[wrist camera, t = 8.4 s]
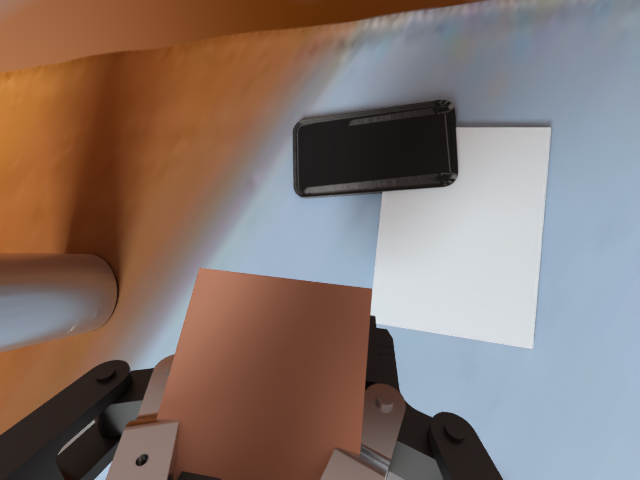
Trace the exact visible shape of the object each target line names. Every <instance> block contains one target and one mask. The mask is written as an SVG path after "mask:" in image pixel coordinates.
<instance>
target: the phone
mask: <svg viewBox="0 0 640 480" xmlns="http://www.w3.org/2000/svg"><path fill="white" fill-rule="evenodd" d="M457 177H458V157H457V138H456V119H455V109H454V106H453V105H452V103H450V102H449V101H446V100H437V101H430V102H423V103H416V104H409V105H402V106H395V107H388V108H381V109H374V110H368V111H361V112H354V113H347V114H340V115H333V116H326V117H319V118H312V119H305V120H301V121H299V122H298V123H297V124H296V125H295V126H294V129H293V178H294V190H295V192H296V194H297V195H299V196H300V197H302V198H306V199H309V198H322V197H336V196H349V195H363V194H376V193H382V192H386V191H399V190H412V189H425V188H439V187H447V186H450V185H451V184H453V183H454V182H455V181H456V179H457Z"/></svg>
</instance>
